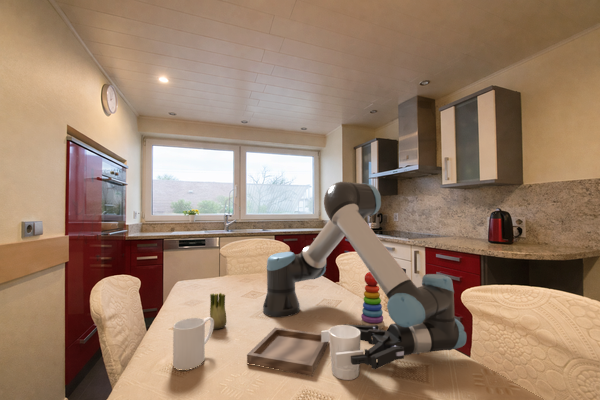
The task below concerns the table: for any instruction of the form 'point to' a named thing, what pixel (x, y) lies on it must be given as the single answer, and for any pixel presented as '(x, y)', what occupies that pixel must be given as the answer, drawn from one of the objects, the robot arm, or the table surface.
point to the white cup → (344, 349)
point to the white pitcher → (190, 342)
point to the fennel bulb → (218, 310)
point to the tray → (289, 351)
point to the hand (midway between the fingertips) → (328, 347)
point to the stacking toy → (372, 303)
